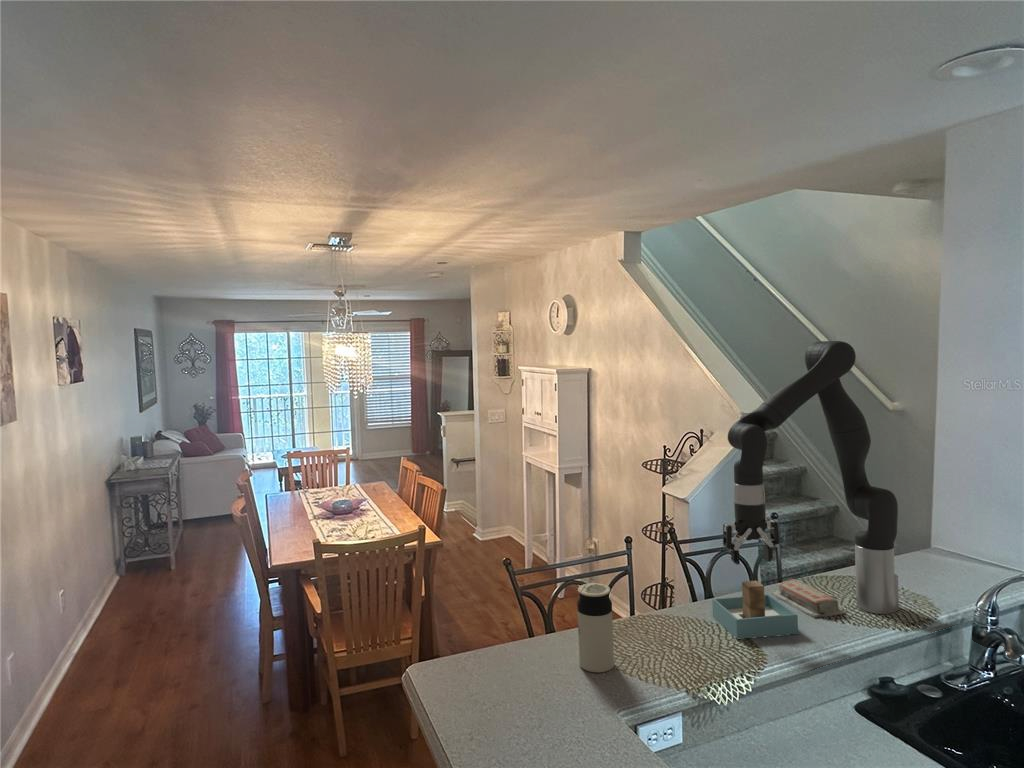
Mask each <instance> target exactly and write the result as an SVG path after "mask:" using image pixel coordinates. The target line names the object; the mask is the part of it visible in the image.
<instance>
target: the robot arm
mask: <svg viewBox="0 0 1024 768" xmlns="http://www.w3.org/2000/svg"><path fill="white" fill-rule="evenodd" d="M856 355H857V354H856V351H855V349H854V347H853V346H852V344H850V343H848V342H845V341H841V340H824V341H820V340H819V341H815V342H812V343H811V344H809V345H808V347H807V348H806V350H805V355H804V363H805V367H806V369H807V371H806V372H805V373H804V374H802V375H801V376H799V377H797V378H796V379H793V380H792V381H791V382H789V383H787V384H785V385H783V386H782V387H780V388H778V389H777V390H776V391H774V392H773V393H772V394H771V395H769V397H768V398H767V399H765V401H763V402H762V403H761V404H760V405H759V406H758V407H757V408H755V409H754V410H753V411H751V412H749V413H748V414H746V415H744V416H743V417H741V418H740V419H738V420H737V421H736V422H734V423H733V424H732V425H731V427H730V428H729V431H728V433H727V441H728V443H729V445H730V446H731V447H732V448H734V449H736V450H740V451H741V453H740V459H739V460H737V461H735V462H734V465H733V481H734V485H733V505H734V508H733V509H734V519H735V521H734V523H733V524H729V523H726V522H725V523H723V525H722V528H723V529H722V546H724V547H725V548H727V549H729V550H730V559H731V562H733V564H735V565H740V561H741V560H740V550H739V549H740V547H741V546H742V545H743V544H744V543H745V542H746V541H752V540H759V539H760V540H761V542H762V543H763V544H764V545H763V554H764V556H763V558H764V561H767V562H771V561H772V559H773V555H774V553H773V548H774V546H776V545H780V541H781V540H780V533H779V532H780V531H779V522H777V521H776V520H774V519H769V520H768V521H767V520H766V517H767V516H766V515H767V514H766V513H767V512H766V493H765V487H764V486H765V485H764V471H763V468H764V463H765V459H766V454H767V449H768V437H767V434H766V432H767V431H770V430H775V429H777V428H780V427H781V425H783V424H784V422H786V421H787V419H788V418H790V417H791V416H792V415H793V414H794V413H795V412H796V411H797V410H798V409H799V408H800V407H802V406H803V405H804V404H805V403H806V402H808V401H809V400H810V399H812V398H813V397H814V396H816V395H817V396H818V399H819V401H820V406H821V409H822V411H823V415H824V418H825V422H826V425H827V431H828V432H829V436H830V439H831V443H832V446H833V448H834V451H835V454H836V458H837V459H836V460H837V462H838V467H839V471H840V474H841V480H842V484H843V490H844V496H845V501H846V505H847V507H848V510H849V512H850V513H851V514H852V515H854V516H855V517H858V518H860V519H863V520H867V521H868V522H867V523H868V525H867V530H862V531H861V530H860V531H857V532H856V533H855V534H854V554H855V555H854V560H855V562H854V563H855V564H854V565H855V603H856V604H855V605H856V607H857V608H859V609H860V610H862V611H865V612H868V613H872V614H877V615H879V614H880V615H889V614H893V613H895V612H896V611H899V610H900V602H899V601H900V599H899V597H900V594H899V593H900V592H899V575H898V574H896V573H895V571H896V569H895V568H896V567H895V541H896V538H897V534H898V518H899V517H898V516H899V515H898V514H899V513H898V512H899V507H898V500H897V497H896V495H895V493H893V491H891V490H890V489H889V490H888V489H886V488H882V487H877V486H872V485H870V483H869V479H868V477H867V474H866V467H865V464H866V459H867V457H868V454H869V452H870V448H871V440H872V438H871V435H870V432H869V431H870V430H869V427H868V424H867V421H866V418H865V416H864V414H863V412H862V411H861V409H860V408H859V406H858V405H857V404H856V403H855V402H854V400H853V399H852V398H851V397H850V396H849V394H848V393H847V392H846V390H845V389H844V387H843V385H842V381H841V378H842V377H843V376H845V375H846V374H847V373H849V372H850V371H851V370H852V369H853V367H854V365H855V362H856ZM767 529H768V530H769V536H768V535H767V534H766V533H765V532H766V530H767ZM734 530H735V531H736V532H735V534H734V536H733V535H732V534H733V533H734ZM732 537H733V538H732Z"/></svg>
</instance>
